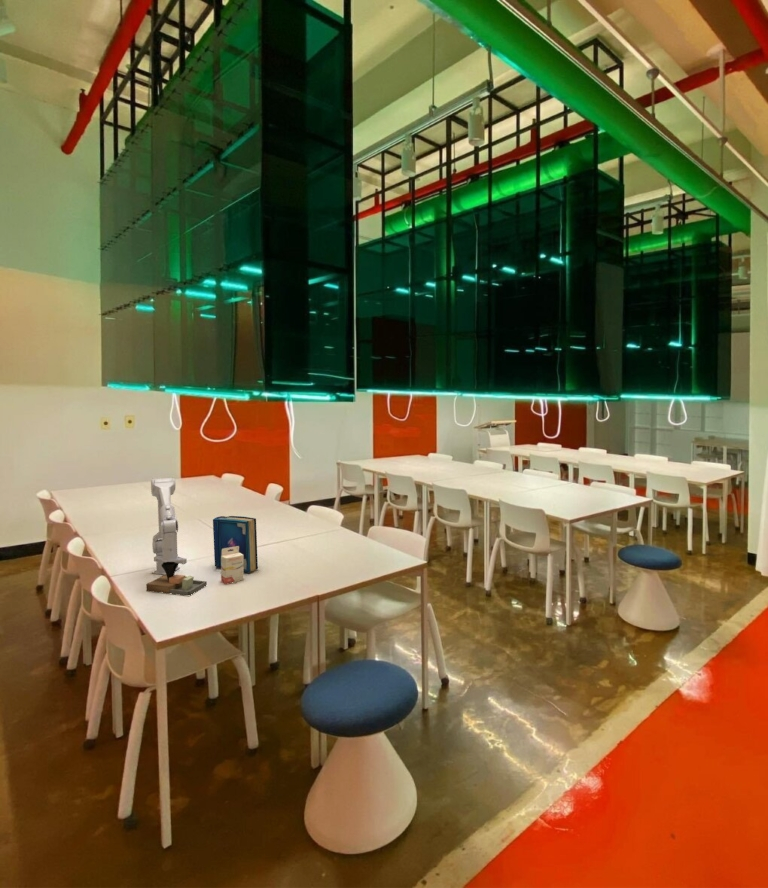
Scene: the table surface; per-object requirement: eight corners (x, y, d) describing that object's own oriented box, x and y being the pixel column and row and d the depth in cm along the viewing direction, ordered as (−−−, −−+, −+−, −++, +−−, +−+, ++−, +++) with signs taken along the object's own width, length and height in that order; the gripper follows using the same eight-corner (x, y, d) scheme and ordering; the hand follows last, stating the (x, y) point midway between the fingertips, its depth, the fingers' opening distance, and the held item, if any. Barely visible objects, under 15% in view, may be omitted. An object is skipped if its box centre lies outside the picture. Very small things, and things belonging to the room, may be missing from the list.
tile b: (189, 575, 208) (193, 576, 207) (188, 585, 208) (192, 586, 208) (182, 579, 204) (187, 580, 203) (181, 589, 204) (185, 590, 204)
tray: (188, 583, 213) (188, 579, 213) (206, 585, 211) (206, 581, 210) (170, 593, 201) (170, 589, 201) (189, 596, 199) (189, 591, 199)
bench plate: (165, 580, 215) (165, 574, 215) (187, 583, 213) (187, 576, 212) (146, 591, 204) (146, 584, 203) (169, 593, 201) (169, 586, 201)
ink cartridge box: (225, 584, 212) (225, 551, 211) (220, 581, 216) (220, 548, 214) (244, 580, 217) (243, 547, 216) (239, 577, 221) (239, 545, 220)
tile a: (176, 579, 210) (176, 574, 209) (185, 580, 208) (185, 575, 208) (169, 582, 205) (169, 578, 205) (178, 583, 204) (178, 579, 204)
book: (211, 568, 232) (210, 516, 230) (221, 563, 239) (220, 513, 237) (249, 574, 224) (248, 521, 222) (258, 569, 231) (258, 517, 229)
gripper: (148, 549, 204) (149, 580, 205) (178, 551, 201) (179, 584, 202) (159, 544, 211) (160, 574, 212) (189, 547, 208) (190, 578, 209)
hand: (170, 579), depth 207 cm, fingers closed
